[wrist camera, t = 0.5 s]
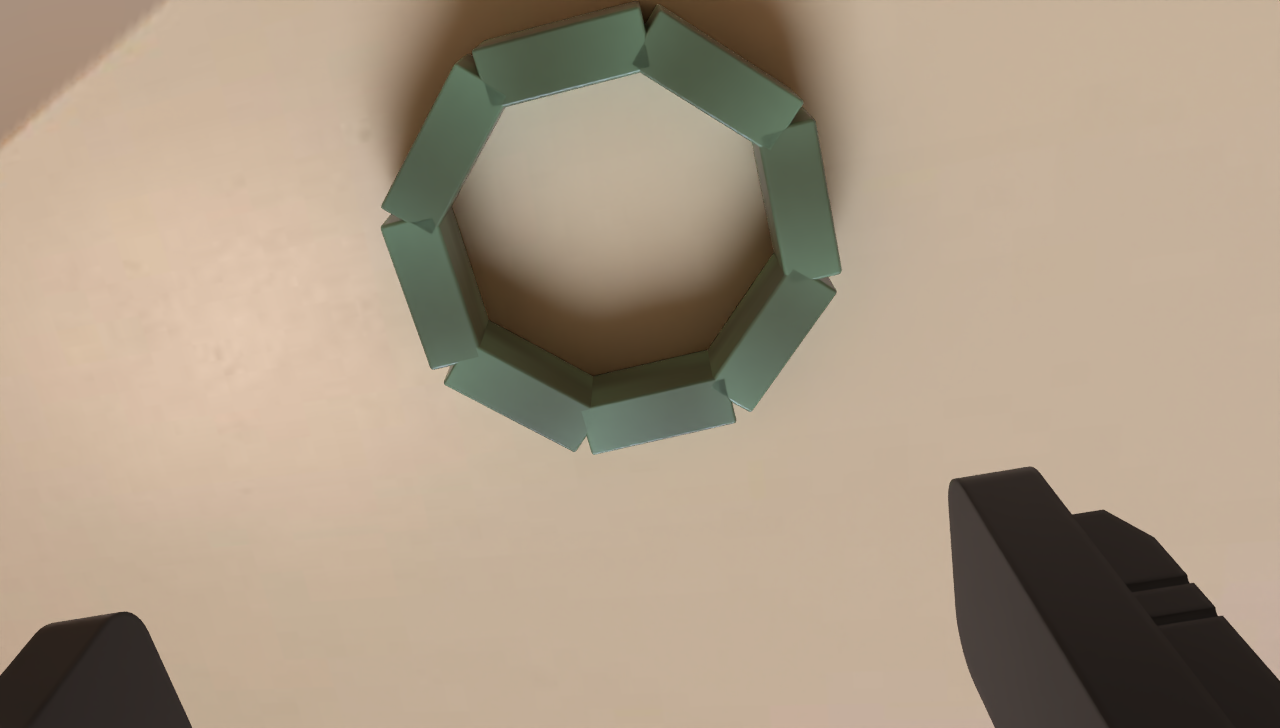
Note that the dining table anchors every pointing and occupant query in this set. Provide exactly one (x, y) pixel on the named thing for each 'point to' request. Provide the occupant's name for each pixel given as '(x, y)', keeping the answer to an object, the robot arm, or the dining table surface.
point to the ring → (648, 393)
